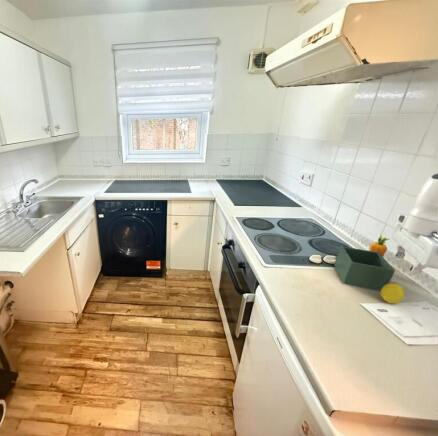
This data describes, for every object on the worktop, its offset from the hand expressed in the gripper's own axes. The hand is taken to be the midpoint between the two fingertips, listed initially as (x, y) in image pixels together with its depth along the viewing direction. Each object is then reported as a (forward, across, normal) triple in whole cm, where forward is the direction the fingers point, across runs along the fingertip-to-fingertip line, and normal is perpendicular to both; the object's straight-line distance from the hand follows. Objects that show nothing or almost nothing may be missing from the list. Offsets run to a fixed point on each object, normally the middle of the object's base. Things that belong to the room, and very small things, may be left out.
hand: (406, 264), depth 77 cm
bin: (+16, +13, +5) cm, 21 cm away
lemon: (+16, 0, 0) cm, 16 cm away
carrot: (+16, +25, -3) cm, 30 cm away
